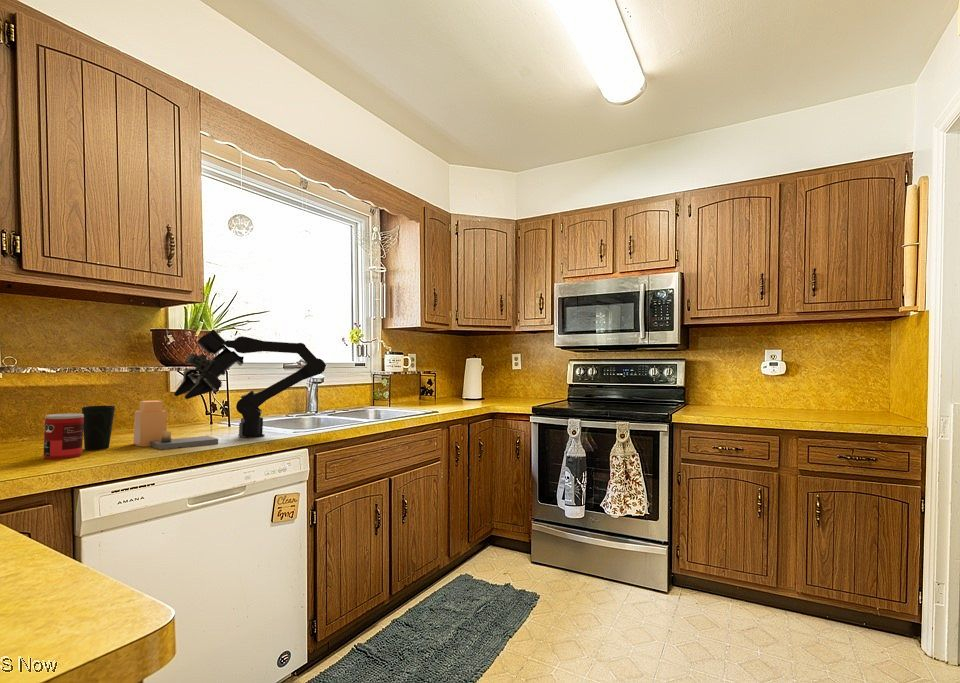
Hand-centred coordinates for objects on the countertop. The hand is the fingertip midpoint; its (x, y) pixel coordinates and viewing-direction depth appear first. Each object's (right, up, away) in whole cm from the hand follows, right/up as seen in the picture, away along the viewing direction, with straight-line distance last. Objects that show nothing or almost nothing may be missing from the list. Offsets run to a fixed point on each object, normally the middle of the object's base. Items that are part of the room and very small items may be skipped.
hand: (179, 396), depth 160 cm
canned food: (-15, -13, -27) cm, 34 cm away
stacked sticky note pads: (-6, -14, -6) cm, 16 cm away
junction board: (+5, -14, -6) cm, 16 cm away
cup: (-15, -13, -15) cm, 25 cm away
